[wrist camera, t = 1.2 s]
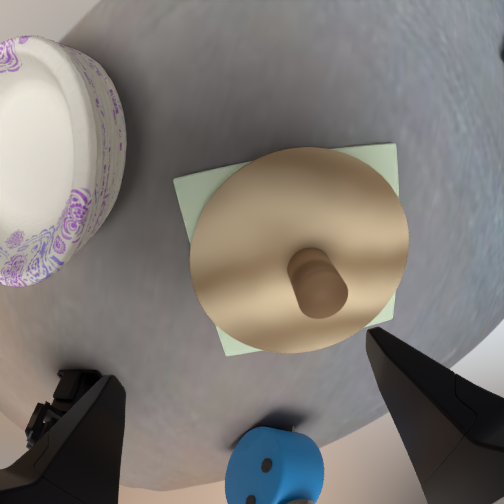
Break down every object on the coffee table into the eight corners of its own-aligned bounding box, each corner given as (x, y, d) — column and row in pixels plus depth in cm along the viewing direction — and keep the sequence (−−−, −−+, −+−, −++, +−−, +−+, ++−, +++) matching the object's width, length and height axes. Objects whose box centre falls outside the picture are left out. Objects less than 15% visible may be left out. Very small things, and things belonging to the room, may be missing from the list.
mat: (389, 315, 25) (392, 319, 25) (226, 351, 26) (226, 356, 25) (391, 143, 19) (395, 143, 18) (174, 178, 19) (173, 179, 18)
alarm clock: (258, 455, 36) (266, 540, 22) (221, 448, 34) (223, 539, 20) (313, 414, 31) (339, 519, 18) (273, 405, 30) (290, 524, 16)
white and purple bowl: (74, 20, 13) (15, -9, 6) (186, 153, 18) (156, 170, 11) (-24, 155, 16) (-82, 176, 9) (62, 273, 21) (16, 327, 14)
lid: (396, 321, 25) (418, 354, 21) (222, 360, 25) (221, 402, 21) (400, 136, 18) (440, 143, 13) (164, 174, 18) (142, 190, 14)
